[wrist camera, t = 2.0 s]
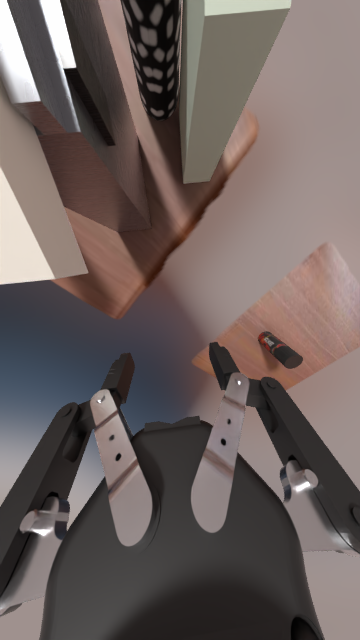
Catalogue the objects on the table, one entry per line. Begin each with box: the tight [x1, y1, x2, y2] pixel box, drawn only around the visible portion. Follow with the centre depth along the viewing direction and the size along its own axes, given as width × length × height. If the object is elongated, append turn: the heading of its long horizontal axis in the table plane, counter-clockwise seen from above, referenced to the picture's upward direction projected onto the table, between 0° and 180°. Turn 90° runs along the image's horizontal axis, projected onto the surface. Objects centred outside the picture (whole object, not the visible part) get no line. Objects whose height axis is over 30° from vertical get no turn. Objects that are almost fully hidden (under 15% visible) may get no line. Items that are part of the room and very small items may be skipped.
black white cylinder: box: [121, 0, 181, 121], centre depth 18 cm, size 8×8×20 cm
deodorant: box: [258, 332, 303, 369], centre depth 50 cm, size 6×6×15 cm
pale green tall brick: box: [179, 0, 291, 184], centre depth 20 cm, size 7×12×26 cm, turn 5°
